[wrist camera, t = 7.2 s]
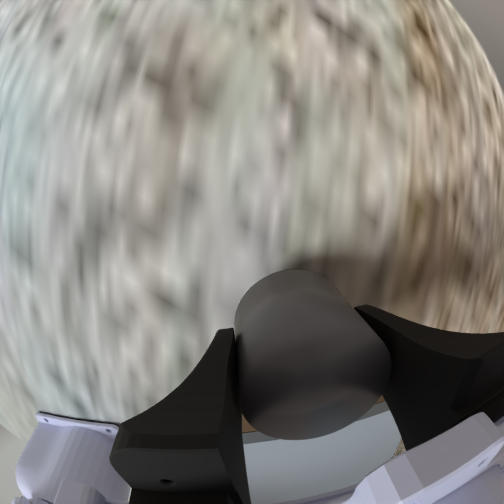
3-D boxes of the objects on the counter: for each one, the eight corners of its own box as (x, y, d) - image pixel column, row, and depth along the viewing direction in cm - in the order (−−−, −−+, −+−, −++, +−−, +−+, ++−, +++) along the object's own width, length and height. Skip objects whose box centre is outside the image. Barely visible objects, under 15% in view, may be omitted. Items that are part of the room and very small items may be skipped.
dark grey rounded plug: (242, 371, 13) (250, 449, 9) (226, 278, 12) (227, 344, 7) (340, 354, 14) (379, 419, 9) (342, 261, 12) (401, 310, 7)
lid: (218, 506, 16) (218, 514, 15) (175, 437, 13) (173, 447, 12) (376, 476, 17) (378, 482, 16) (411, 391, 13) (417, 399, 13)
